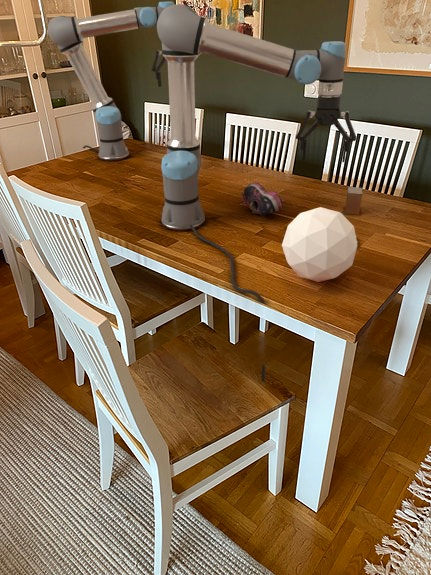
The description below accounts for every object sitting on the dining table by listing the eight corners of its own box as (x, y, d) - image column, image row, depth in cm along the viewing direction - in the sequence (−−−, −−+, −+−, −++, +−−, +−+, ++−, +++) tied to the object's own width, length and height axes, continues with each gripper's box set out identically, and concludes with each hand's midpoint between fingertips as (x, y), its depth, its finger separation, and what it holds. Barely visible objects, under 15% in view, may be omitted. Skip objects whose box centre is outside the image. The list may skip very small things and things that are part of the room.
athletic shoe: (254, 181, 170) (227, 189, 167) (283, 176, 151) (253, 185, 147) (260, 210, 173) (234, 218, 170) (290, 209, 154) (261, 219, 150)
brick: (345, 207, 163) (348, 187, 159) (358, 208, 162) (361, 187, 158) (345, 213, 158) (348, 192, 154) (359, 214, 157) (362, 193, 153)
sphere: (325, 304, 123) (342, 278, 104) (265, 266, 127) (271, 234, 108) (360, 253, 127) (382, 220, 109) (301, 218, 132) (312, 180, 113)
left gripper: (142, 40, 215) (147, 87, 226) (191, 39, 210) (193, 87, 221) (147, 39, 221) (152, 85, 232) (195, 38, 216) (197, 85, 227)
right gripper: (289, 97, 145) (286, 161, 156) (369, 97, 138) (360, 165, 150) (292, 93, 151) (289, 155, 162) (369, 93, 144) (360, 158, 156)
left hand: (172, 86), depth 227 cm, fingers open, 13 cm apart
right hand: (323, 160), depth 156 cm, fingers open, 13 cm apart
